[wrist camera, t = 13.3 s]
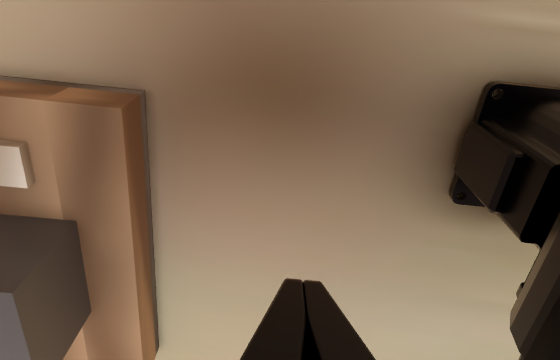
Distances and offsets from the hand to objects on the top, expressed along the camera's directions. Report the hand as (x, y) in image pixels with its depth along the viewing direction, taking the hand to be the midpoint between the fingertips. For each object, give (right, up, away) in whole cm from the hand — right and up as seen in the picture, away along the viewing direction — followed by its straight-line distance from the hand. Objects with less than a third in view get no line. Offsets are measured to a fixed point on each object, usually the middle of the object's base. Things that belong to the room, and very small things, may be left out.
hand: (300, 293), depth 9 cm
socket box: (-13, 0, +14) cm, 19 cm away
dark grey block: (-13, -1, +13) cm, 19 cm away
